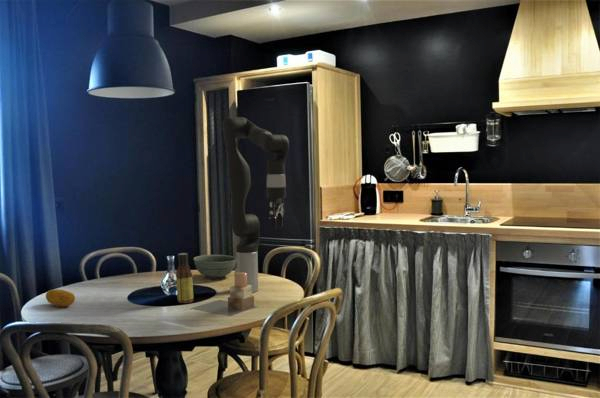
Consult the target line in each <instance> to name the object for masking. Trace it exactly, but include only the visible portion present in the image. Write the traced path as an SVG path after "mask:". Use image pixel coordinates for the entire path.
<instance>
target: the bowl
mask: <svg viewBox="0 0 600 398" xmlns="http://www.w3.org/2000/svg"><path fill="white" fill-rule="evenodd" d="M193 261H194V265H195V268H196V270H197V271H198V273H200V275H202V276H204V278H205V279H208V280H213V281H214V280H223V279H225V278H226V276H227V275H229V274H231V273H232V271H233V270H235V269H234V268H235V266H236V256H234V255H227V254H203V255H198V256H195V257H193Z"/></svg>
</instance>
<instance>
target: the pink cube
mask: <svg viewBox="0 0 600 398" xmlns="http://www.w3.org/2000/svg"><path fill="white" fill-rule="evenodd" d="M233 278H234V282H233V283H234V285H235V287H237V288H243V287H247V273H246V272H236V273H235V272H234V273H233Z"/></svg>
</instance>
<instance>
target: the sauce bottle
mask: <svg viewBox="0 0 600 398" xmlns="http://www.w3.org/2000/svg"><path fill="white" fill-rule="evenodd" d="M177 258H178V259H177V260H178V261H177V262H178V266H177V269H176V271H175V275H176V278H175V279H176V294H177V295H176V296H177V303H180V304H189V303H190V304H191V303H192V302H194V287H193V286H194V285H193V284H194V282H193V274H192V271H191V267H190V265H189V254H188V253H187V252H181V253H178V254H177Z"/></svg>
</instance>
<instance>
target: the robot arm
mask: <svg viewBox="0 0 600 398" xmlns="http://www.w3.org/2000/svg"><path fill="white" fill-rule="evenodd" d="M222 133H223V139H224V145H225V150H226V157H227V158H226V159H227V169H228V171H227V172H228V180H229V181H228V182H229V188H230V189H229V190H230V204H231V205H230V207H231V208H230V209H231V210H230V212H231V214H230V216H231V219H230V220H231V230H232V233H233V234H234V235H235V236H236V237H242V240H241V241H240V242H239V243H237V245H236V247H235V255H236V256H235V257H236V263H235V266H236V268H235V269H234V273H236V272H246V273H247V285H252V293H255V292H258V291H259V262H258V252H259V251H258V247H259V245H260V229H261V227H260V226H261V225H260V219H259V217H258V216H257V215H256V214H253V213H249V214H247V213H246V209H245V206H246V199H247V196H248V194H249V192H250V188H251V185H252V180H251V179H252V178H251V177H252V176H251V169H250V166H249V164H248V162H247V161H246V160H245V158H244V157H243V155H242V154H241V153H240V150H239V149H238V145H237V140H236V139H238V140H239V139H249V141H250V142H251V143H252V144H253V145H256V146H257V147H260V149H262V151H263V152H265V153H269V154H270V153H271V154H276V155H275V156H274V158H271V159H268V160H267V163H266V198H267V199H270V201H268V202H267V218H268V219H269V220H270V223H269V227H270V229H271V230H272V229H273V230H274V229H277V227H283V225H284V222H283V219H284V218H283V217H284V215H286V214H285V213H286V211H285V198H287V187H286V186H287V185H286V183H287V182H286V181H287V180H286V179H287V178H286V161H287V156H288V153H289V148H290V141H289V138H288V136H286V135H284V134H273V133H271V132H270V131H268V130H267V129H264V128H261V127H259V126H257V125H256V124H255V123H254V122H252V121H250V119H248V118H246V117H243V116H227V117H225V118H224V119H223V121H222Z"/></svg>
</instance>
